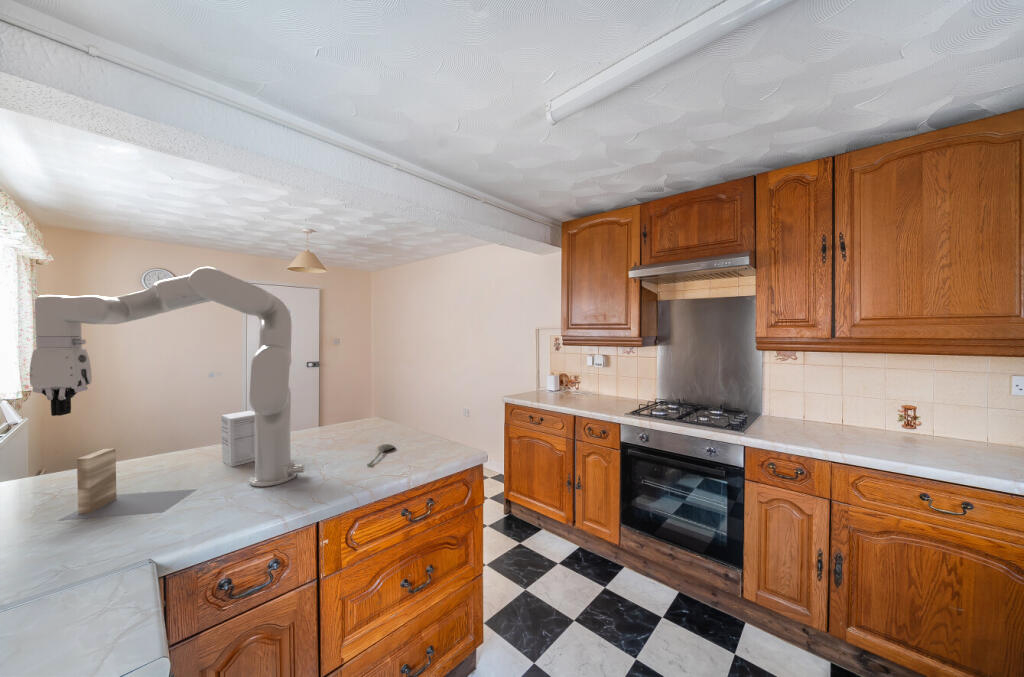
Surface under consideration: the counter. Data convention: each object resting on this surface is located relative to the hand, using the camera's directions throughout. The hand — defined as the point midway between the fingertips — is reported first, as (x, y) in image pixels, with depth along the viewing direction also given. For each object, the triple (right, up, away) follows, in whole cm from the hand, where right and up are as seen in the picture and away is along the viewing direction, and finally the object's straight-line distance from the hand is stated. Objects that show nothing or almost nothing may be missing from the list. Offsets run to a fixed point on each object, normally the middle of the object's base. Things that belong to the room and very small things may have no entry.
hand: (61, 414), depth 97 cm
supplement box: (+19, -25, +38) cm, 49 cm away
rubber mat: (+15, -25, +4) cm, 30 cm away
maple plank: (+7, -25, +2) cm, 26 cm away
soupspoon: (+67, -25, +44) cm, 84 cm away
